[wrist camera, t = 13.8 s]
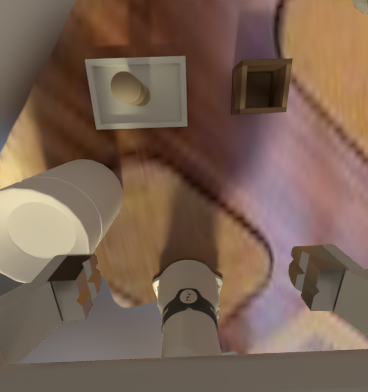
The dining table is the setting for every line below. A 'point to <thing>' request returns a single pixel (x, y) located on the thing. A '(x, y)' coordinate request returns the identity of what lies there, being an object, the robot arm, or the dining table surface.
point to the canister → (56, 216)
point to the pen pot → (260, 86)
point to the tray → (153, 79)
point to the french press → (361, 5)
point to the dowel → (129, 89)
